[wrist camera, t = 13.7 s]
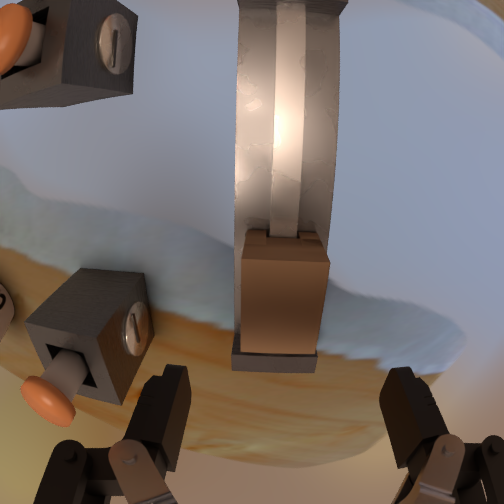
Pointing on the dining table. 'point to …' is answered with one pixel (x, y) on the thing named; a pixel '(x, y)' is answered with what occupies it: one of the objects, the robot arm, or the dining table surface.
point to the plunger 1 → (19, 38)
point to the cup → (5, 311)
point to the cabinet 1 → (75, 55)
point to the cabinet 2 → (97, 329)
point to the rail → (284, 137)
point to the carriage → (282, 292)
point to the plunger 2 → (56, 388)
